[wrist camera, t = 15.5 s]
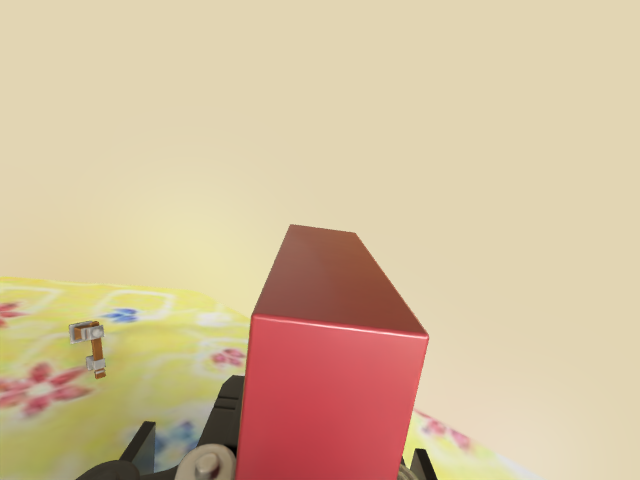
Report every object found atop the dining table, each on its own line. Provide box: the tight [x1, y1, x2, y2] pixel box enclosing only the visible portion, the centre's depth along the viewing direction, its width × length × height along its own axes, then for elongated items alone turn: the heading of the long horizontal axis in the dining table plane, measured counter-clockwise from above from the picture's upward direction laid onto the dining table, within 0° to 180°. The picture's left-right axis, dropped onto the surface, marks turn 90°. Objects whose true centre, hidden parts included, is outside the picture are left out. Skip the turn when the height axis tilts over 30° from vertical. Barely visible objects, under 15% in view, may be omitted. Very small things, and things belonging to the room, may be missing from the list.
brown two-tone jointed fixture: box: [69, 321, 106, 379], centre depth 28 cm, size 2×8×4 cm, turn 45°
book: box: [234, 225, 429, 480], centre depth 10 cm, size 3×8×14 cm, turn 1°
